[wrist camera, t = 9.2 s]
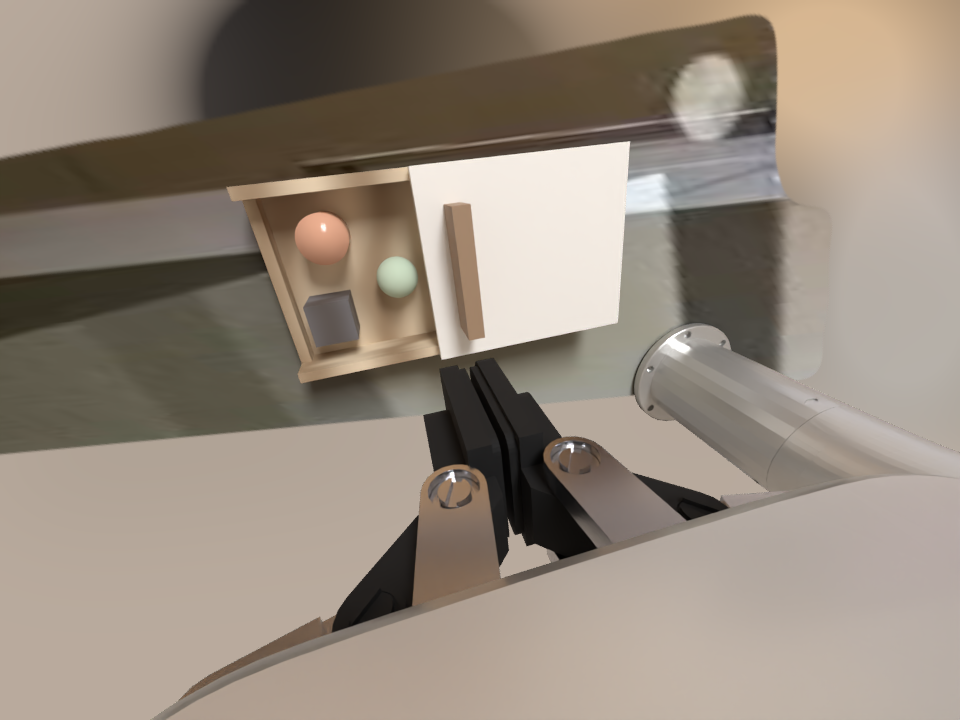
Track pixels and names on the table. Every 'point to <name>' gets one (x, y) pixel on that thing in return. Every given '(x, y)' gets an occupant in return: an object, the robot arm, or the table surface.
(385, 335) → the oak box
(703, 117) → the table surface
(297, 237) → the glossy peach egg
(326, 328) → the charcoal block
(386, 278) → the sage ball
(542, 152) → the sliding lid
